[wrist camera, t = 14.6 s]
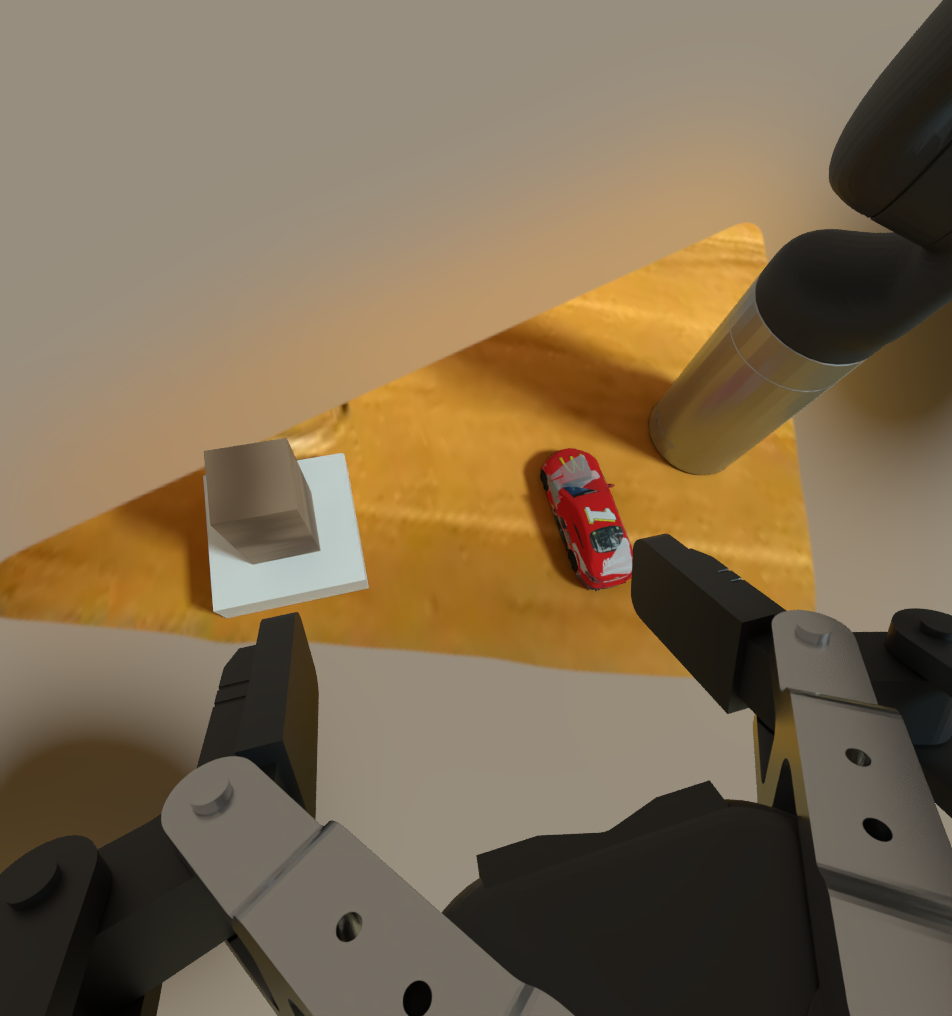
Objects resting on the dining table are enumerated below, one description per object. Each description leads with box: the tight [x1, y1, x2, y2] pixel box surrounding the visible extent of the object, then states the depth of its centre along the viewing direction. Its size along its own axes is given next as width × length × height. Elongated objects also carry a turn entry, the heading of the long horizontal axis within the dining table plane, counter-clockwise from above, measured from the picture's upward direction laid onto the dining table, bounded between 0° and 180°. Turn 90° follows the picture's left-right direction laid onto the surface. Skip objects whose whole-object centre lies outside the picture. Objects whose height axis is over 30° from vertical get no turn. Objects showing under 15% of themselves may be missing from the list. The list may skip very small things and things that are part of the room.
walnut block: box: [204, 438, 321, 565], centre depth 36 cm, size 5×5×9 cm
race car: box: [541, 448, 633, 591], centre depth 45 cm, size 13×5×4 cm, turn 15°
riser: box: [203, 453, 369, 618], centre depth 42 cm, size 11×11×3 cm
